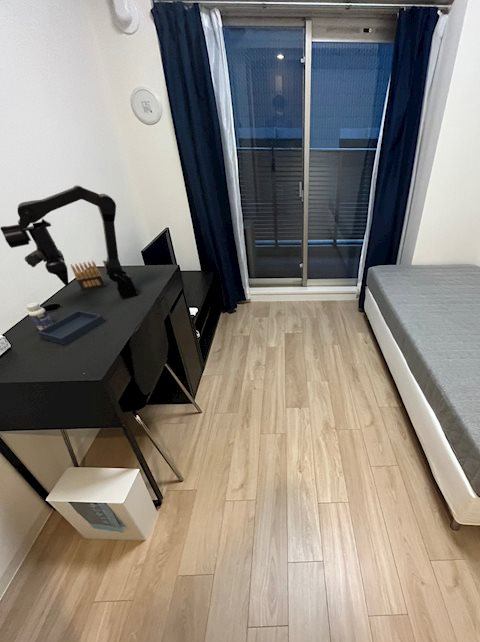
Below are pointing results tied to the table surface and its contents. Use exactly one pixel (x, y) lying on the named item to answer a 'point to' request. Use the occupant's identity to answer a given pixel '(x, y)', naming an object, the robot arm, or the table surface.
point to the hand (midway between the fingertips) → (66, 281)
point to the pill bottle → (39, 316)
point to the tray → (71, 327)
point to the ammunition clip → (88, 276)
